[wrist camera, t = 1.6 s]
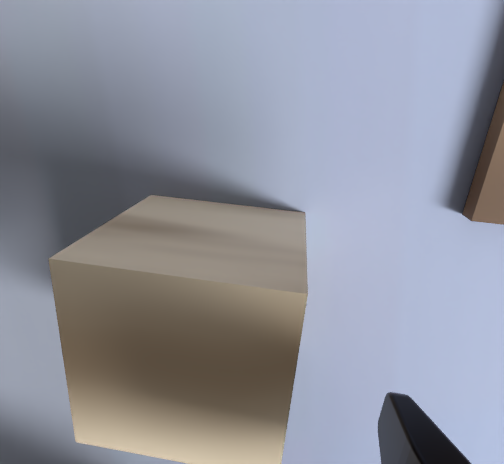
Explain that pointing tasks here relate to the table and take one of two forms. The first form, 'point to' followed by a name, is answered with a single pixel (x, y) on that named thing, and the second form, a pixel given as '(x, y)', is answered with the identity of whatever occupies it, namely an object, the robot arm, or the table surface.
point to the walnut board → (489, 174)
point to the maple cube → (184, 329)
